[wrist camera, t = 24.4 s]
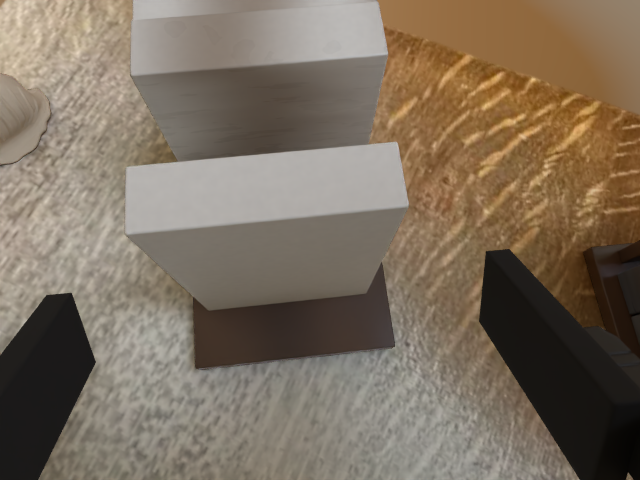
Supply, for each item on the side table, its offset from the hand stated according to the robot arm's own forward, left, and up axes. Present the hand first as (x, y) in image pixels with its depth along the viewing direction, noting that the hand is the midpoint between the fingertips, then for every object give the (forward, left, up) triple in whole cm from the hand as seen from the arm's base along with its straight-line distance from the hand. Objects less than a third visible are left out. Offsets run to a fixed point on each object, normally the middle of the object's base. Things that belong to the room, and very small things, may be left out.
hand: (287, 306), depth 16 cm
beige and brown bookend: (0, -6, -13) cm, 14 cm away
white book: (0, -4, -12) cm, 12 cm away
